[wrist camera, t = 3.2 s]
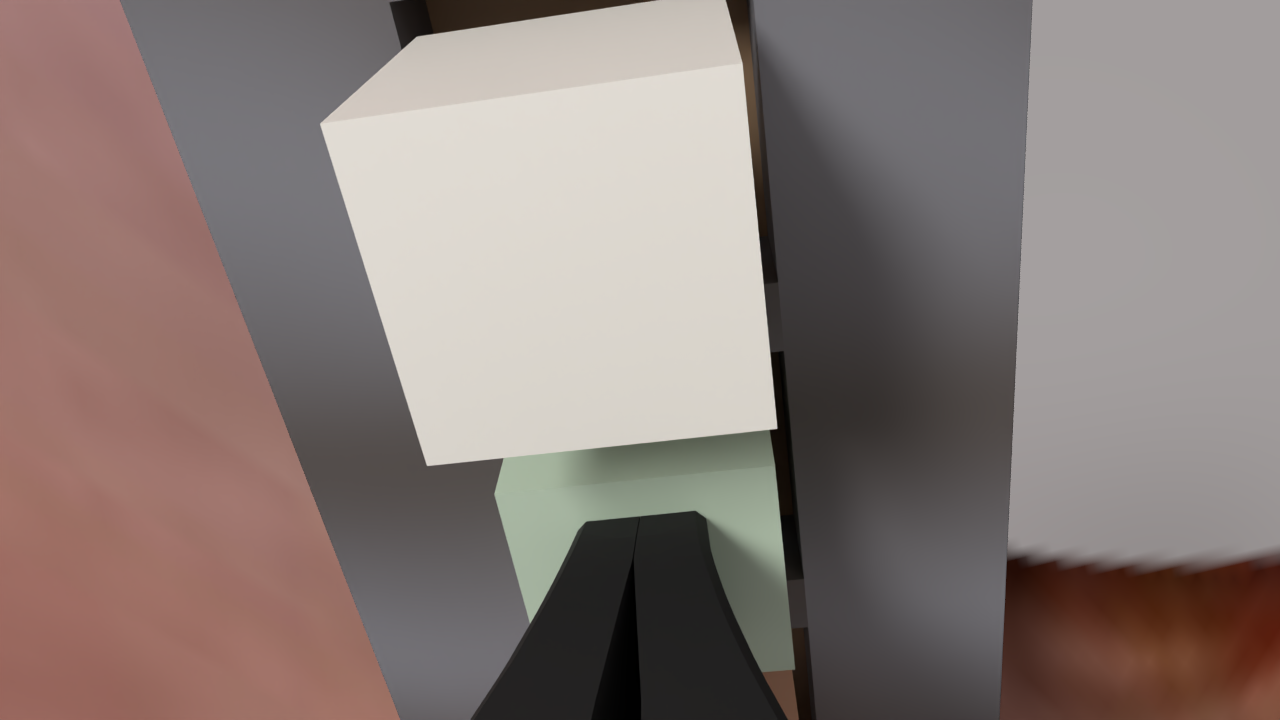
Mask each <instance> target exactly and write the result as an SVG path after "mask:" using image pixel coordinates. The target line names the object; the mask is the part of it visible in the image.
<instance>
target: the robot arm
mask: <svg viewBox="0 0 1280 720" xmlns="http://www.w3.org/2000/svg"><path fill="white" fill-rule="evenodd" d="M470 720H788V718H787V717H786V715H785V713H784V712H783V710H782V708H781V706H780V704H779V703H778V701H777V699H776V697H775V695H774V694H773V692H772V690H771V688H770V686H769V685H768V683H767V681H766V679H765V677H764V675H763V673H762V672H761V670H760V668H759V666H758V664H757V662H756V660H755V658H754V656H753V654H752V652H751V650H750V648H749V645H748V643H747V641H746V639H745V637H744V635H743V633H742V630H741V628H740V626H739V624H738V622H737V620H736V618H735V615H734V613H733V611H732V608H731V606H730V604H729V601H728V599H727V596H726V594H725V591H724V588H723V586H722V583H721V580H720V577H719V574H718V572H717V569H716V566H715V562H714V559H713V556H712V552H711V547H710V540H709V533H708V526H707V519H706V518H705V517H704V516H702V515H701V514H699V513H698V512H697V511H687V512H677V513H667V514H657V515H647V516H641V517H640V516H637V517H627V518H617V519H607V520H597V521H586V522H585V523H584V524H583V525H582V527H581V528H580V529H579V530H578V531H577V533H576V536H575V538H574V540H573V542H572V545H571V547H570V549H569V551H568V553H567V555H566V557H565V559H564V561H563V563H562V565H561V567H560V569H559V571H558V573H557V575H556V577H555V579H554V581H553V583H552V585H551V587H550V589H549V591H548V592H547V594H546V596H545V598H544V600H543V602H542V604H541V605H540V607H539V609H538V611H537V613H536V615H535V616H534V618H533V620H532V621H531V623H530V625H529V627H528V628H527V630H526V632H525V633H524V635H523V637H522V639H521V640H520V642H519V644H518V645H517V647H516V649H515V651H514V652H513V654H512V656H511V657H510V659H509V661H508V662H507V664H506V666H505V667H504V669H503V671H502V672H501V674H500V675H499V677H498V678H497V680H496V681H495V683H494V684H493V686H492V688H491V689H490V691H489V692H488V694H487V695H486V697H485V698H484V700H483V701H482V703H481V704H480V706H479V707H478V709H477V710H476V712H475V713H474V715H473V716H472V718H471V719H470Z"/></svg>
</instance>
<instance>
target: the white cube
mask: <svg viewBox="0 0 1280 720" xmlns="http://www.w3.org/2000/svg"><path fill="white" fill-rule="evenodd" d="M320 126H321V129H322V132H323V135H324V138H325V142H326V145H327V148H328V151H329V154H330V158H331V161H332V164H333V167H334V170H335V174H336V177H337V180H338V183H339V186H340V190H341V193H342V196H343V199H344V202H345V206H346V209H347V212H348V215H349V218H350V222H351V225H352V228H353V231H354V234H355V238H356V241H357V244H358V247H359V250H360V254H361V257H362V260H363V263H364V266H365V269H366V273H367V276H368V279H369V282H370V285H371V289H372V292H373V295H374V298H375V301H376V305H377V308H378V311H379V314H380V317H381V321H382V324H383V327H384V330H385V333H386V337H387V340H388V343H389V346H390V349H391V353H392V356H393V359H394V362H395V365H396V369H397V372H398V375H399V378H400V381H401V385H402V388H403V391H404V394H405V397H406V401H407V404H408V407H409V410H410V413H411V417H412V420H413V423H414V426H415V429H416V432H417V436H418V439H419V442H420V445H421V448H422V452H423V455H424V458H425V461H426V464H427V466H433V465H442V464H452V463H461V462H471V461H480V460H489V459H499V458H508V457H518V456H527V455H536V454H546V453H555V452H565V451H574V450H583V449H593V448H602V447H612V446H621V445H630V444H640V443H649V442H659V441H668V440H677V439H687V438H696V437H706V436H715V435H724V434H734V433H743V432H753V431H762V430H771V429H777V419H776V409H775V399H774V388H773V378H772V367H771V357H770V346H769V336H768V325H767V315H766V304H765V294H764V283H763V273H762V262H761V252H760V241H759V231H758V220H757V210H756V199H755V189H754V178H753V168H752V158H751V147H750V137H749V126H748V116H747V105H746V95H745V84H744V74H743V63H742V59H741V56H740V52H739V48H738V44H737V41H736V37H735V33H734V30H733V26H732V22H731V18H730V15H729V11H728V7H727V4H726V0H656V1H650V2H643V3H636V4H630V5H623V6H617V7H610V8H603V9H597V10H590V11H584V12H577V13H570V14H564V15H557V16H551V17H544V18H537V19H531V20H524V21H517V22H511V23H504V24H498V25H491V26H484V27H478V28H471V29H465V30H458V31H451V32H445V33H438V34H432V35H425V36H418V37H416V38H415V39H414V40H413V41H411V42H410V43H409V44H408V45H407V46H406V47H405V48H404V49H403V50H401V51H400V52H399V53H398V54H397V55H396V56H395V57H394V58H393V59H391V60H390V61H389V62H388V63H387V64H386V65H385V66H384V67H383V68H381V69H380V70H379V71H378V72H377V73H376V74H375V75H374V76H373V77H371V78H370V79H369V80H368V81H367V82H366V83H365V84H364V85H362V86H361V87H360V88H359V89H358V90H357V91H356V92H355V93H354V94H352V95H351V96H350V97H349V98H348V99H347V100H346V101H345V102H344V103H342V104H341V105H340V106H339V107H338V108H337V109H336V110H335V111H334V112H332V113H331V114H330V115H329V116H328V117H327V118H326V119H325V120H324V121H322V122H321V123H320Z"/></svg>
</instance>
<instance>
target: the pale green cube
mask: <svg viewBox="0 0 1280 720" xmlns="http://www.w3.org/2000/svg"><path fill="white" fill-rule="evenodd" d="M494 495H495V499H496V502H497V506H498V510H499V513H500V517H501V520H502V524H503V528H504V531H505V535H506V539H507V542H508V546H509V549H510V553H511V557H512V560H513V564H514V567H515V571H516V575H517V578H518V582H519V586H520V589H521V593H522V596H523V600H524V604H525V607H526V611H527V615H528V618H529V622H530V623H531V621H532V620H533V618H534V616H535V615H536V613H537V611H538V609H539V607H540V605H541V604H542V602H543V600H544V598H545V596H546V594H547V592H548V591H549V589H550V587H551V585H552V583H553V581H554V579H555V577H556V575H557V573H558V571H559V569H560V567H561V565H562V563H563V561H564V559H565V557H566V555H567V553H568V551H569V549H570V547H571V545H572V542H573V540H574V538H575V536H576V533H577V531H578V530H579V529H580V528H581V527H582V525H583V524H584V523H585V522H586V521H597V520H607V519H617V518H627V517H637V516H640V517H641V516H647V515H657V514H667V513H677V512H687V511H697V512H698V513H699V514H701V515H702V516H704V517H705V518H706V519H707V526H708V533H709V540H710V547H711V552H712V556H713V559H714V562H715V566H716V569H717V572H718V574H719V577H720V580H721V583H722V586H723V588H724V591H725V594H726V596H727V599H728V601H729V604H730V606H731V608H732V611H733V613H734V615H735V618H736V620H737V622H738V624H739V626H740V628H741V630H742V633H743V635H744V637H745V639H746V641H747V643H748V645H749V648H750V650H751V652H752V654H753V656H754V658H755V660H756V662H757V664H758V666H759V668H760V670H761V672H772V671H784V670H795V663H794V652H793V642H792V632H791V622H790V612H789V602H788V592H787V582H786V572H785V562H784V551H783V541H782V531H781V521H780V511H779V501H778V491H777V481H776V471H775V462H774V456H773V449H772V443H771V436H770V430H762V431H753V432H743V433H734V434H724V435H715V436H706V437H696V438H687V439H677V440H668V441H659V442H649V443H640V444H630V445H621V446H612V447H602V448H593V449H583V450H574V451H565V452H555V453H546V454H536V455H527V456H518V457H508V458H504V459H503V463H502V467H501V470H500V474H499V478H498V482H497V486H496V490H495V493H494Z"/></svg>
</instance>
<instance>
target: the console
mask: <svg viewBox="0 0 1280 720" xmlns="http://www.w3.org/2000/svg"><path fill="white" fill-rule="evenodd" d="M650 1H656V0H120V2H121V4H122V7H123V9H124V12H125V15H126V17H127V20H128V22H129V25H130V27H131V30H132V33H133V35H134V38H135V40H136V43H137V45H138V48H139V50H140V53H141V56H142V58H143V61H144V63H145V66H146V68H147V71H148V74H149V76H150V79H151V81H152V84H153V86H154V89H155V92H156V94H157V97H158V99H159V102H160V104H161V107H162V109H163V112H164V115H165V117H166V120H167V122H168V125H169V127H170V130H171V133H172V135H173V138H174V140H175V143H176V145H177V148H178V150H179V153H180V156H181V158H182V161H183V163H184V166H185V168H186V171H187V174H188V176H189V179H190V181H191V184H192V186H193V189H194V192H195V194H196V197H197V199H198V202H199V204H200V207H201V209H202V212H203V215H204V217H205V220H206V222H207V225H208V227H209V230H210V233H211V235H212V238H213V240H214V243H215V245H216V248H217V251H218V253H219V256H220V258H221V261H222V263H223V266H224V268H225V271H226V274H227V276H228V279H229V281H230V284H231V286H232V289H233V292H234V294H235V297H236V299H237V302H238V304H239V307H240V309H241V312H242V315H243V317H244V320H245V322H246V325H247V327H248V330H249V333H250V335H251V338H252V340H253V343H254V345H255V348H256V351H257V353H258V356H259V358H260V361H261V363H262V366H263V368H264V371H265V374H266V376H267V379H268V381H269V384H270V386H271V389H272V392H273V394H274V397H275V399H276V402H277V404H278V407H279V409H280V412H281V415H282V417H283V420H284V422H285V425H286V427H287V430H288V433H289V435H290V438H291V440H292V443H293V445H294V448H295V451H296V453H297V456H298V458H299V461H300V463H301V466H302V468H303V471H304V474H305V476H306V479H307V481H308V484H309V486H310V489H311V492H312V494H313V497H314V499H315V502H316V504H317V507H318V509H319V512H320V515H321V517H322V520H323V522H324V525H325V527H326V530H327V533H328V535H329V538H330V540H331V543H332V545H333V548H334V551H335V553H336V556H337V558H338V561H339V563H340V566H341V568H342V571H343V574H344V576H345V579H346V581H347V584H348V586H349V589H350V592H351V594H352V597H353V599H354V602H355V604H356V607H357V610H358V612H359V615H360V617H361V620H362V622H363V625H364V627H365V630H366V633H367V635H368V638H369V640H370V643H371V645H372V648H373V651H374V653H375V656H376V658H377V661H378V663H379V666H380V668H381V671H382V674H383V676H384V679H385V681H386V684H387V686H388V689H389V692H390V694H391V697H392V699H393V702H394V704H395V707H396V710H397V712H398V715H399V717H400V720H470V719H471V718H472V716H473V715H474V713H475V712H476V710H477V709H478V707H479V706H480V704H481V703H482V701H483V700H484V698H485V697H486V695H487V694H488V692H489V691H490V689H491V688H492V686H493V684H494V683H495V681H496V680H497V678H498V677H499V675H500V674H501V672H502V671H503V669H504V667H505V666H506V664H507V662H508V661H509V659H510V657H511V656H512V654H513V652H514V651H515V649H516V647H517V645H518V644H519V642H520V640H521V639H522V637H523V635H524V633H525V632H526V630H527V628H528V627H529V625H530V622H529V618H528V615H527V611H526V607H525V604H524V600H523V596H522V593H521V589H520V586H519V582H518V578H517V575H516V571H515V567H514V564H513V560H512V557H511V553H510V549H509V546H508V542H507V539H506V535H505V531H504V528H503V524H502V520H501V517H500V513H499V510H498V506H497V502H496V499H495V495H494V493H495V490H496V486H497V482H498V478H499V474H500V470H501V467H502V463H503V459H504V458H499V459H489V460H480V461H471V462H461V463H452V464H442V465H433V466H427V464H426V461H425V458H424V455H423V452H422V448H421V445H420V442H419V439H418V436H417V432H416V429H415V426H414V423H413V420H412V417H411V413H410V410H409V407H408V404H407V401H406V397H405V394H404V391H403V388H402V385H401V381H400V378H399V375H398V372H397V369H396V365H395V362H394V359H393V356H392V353H391V349H390V346H389V343H388V340H387V337H386V333H385V330H384V327H383V324H382V321H381V317H380V314H379V311H378V308H377V305H376V301H375V298H374V295H373V292H372V289H371V285H370V282H369V279H368V276H367V273H366V269H365V266H364V263H363V260H362V257H361V254H360V250H359V247H358V244H357V241H356V238H355V234H354V231H353V228H352V225H351V222H350V218H349V215H348V212H347V209H346V206H345V202H344V199H343V196H342V193H341V190H340V186H339V183H338V180H337V177H336V174H335V170H334V167H333V164H332V161H331V158H330V154H329V151H328V148H327V145H326V142H325V138H324V135H323V132H322V129H321V126H320V123H321V122H322V121H324V120H325V119H326V118H327V117H328V116H329V115H330V114H331V113H332V112H334V111H335V110H336V109H337V108H338V107H339V106H340V105H341V104H342V103H344V102H345V101H346V100H347V99H348V98H349V97H350V96H351V95H352V94H354V93H355V92H356V91H357V90H358V89H359V88H360V87H361V86H362V85H364V84H365V83H366V82H367V81H368V80H369V79H370V78H371V77H373V76H374V75H375V74H376V73H377V72H378V71H379V70H380V69H381V68H383V67H384V66H385V65H386V64H387V63H388V62H389V61H390V60H391V59H393V58H394V57H395V56H396V55H397V54H398V53H399V52H400V51H401V50H403V49H404V48H405V47H406V46H407V45H408V44H409V43H410V42H411V41H413V40H414V39H415V38H416V37H418V36H425V35H432V34H438V33H445V32H451V31H458V30H465V29H471V28H478V27H484V26H491V25H498V24H504V23H511V22H517V21H524V20H531V19H537V18H544V17H551V16H557V15H564V14H570V13H577V12H584V11H590V10H597V9H603V8H610V7H617V6H623V5H630V4H636V3H643V2H650ZM726 4H727V7H728V11H729V15H730V18H731V22H732V26H733V30H734V33H735V37H736V41H737V44H738V48H739V52H740V56H741V59H742V63H743V74H744V84H745V95H746V105H747V116H748V126H749V137H750V147H751V158H752V168H753V178H754V189H755V199H756V210H757V220H758V231H759V241H760V252H761V262H762V273H763V283H764V294H765V304H766V315H767V325H768V336H769V346H770V357H771V367H772V378H773V388H774V399H775V409H776V419H777V429H771V430H770V436H771V443H772V449H773V456H774V462H775V471H776V481H777V491H778V501H779V511H780V521H781V531H782V541H783V551H784V562H785V572H786V582H787V592H788V602H789V612H790V622H791V632H792V642H793V652H794V663H795V670H792V673H793V681H794V688H795V695H796V702H797V710H798V717H799V720H999V718H1000V696H1001V674H1002V652H1003V631H1004V609H1005V587H1006V565H1007V543H1008V520H1009V500H1010V499H1009V498H1010V478H1011V456H1012V433H1013V412H1014V390H1015V368H1016V348H1017V346H1016V345H1017V325H1018V304H1019V303H1018V302H1019V282H1020V281H1019V280H1020V261H1021V239H1022V217H1023V216H1022V215H1023V195H1024V173H1025V151H1026V130H1027V108H1028V85H1029V65H1030V64H1029V63H1030V43H1031V20H1032V0H726Z"/></svg>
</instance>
